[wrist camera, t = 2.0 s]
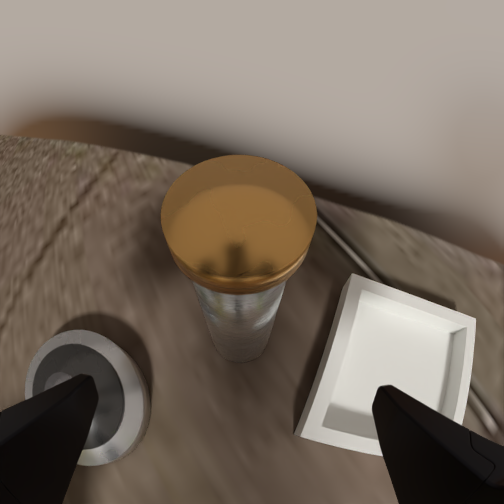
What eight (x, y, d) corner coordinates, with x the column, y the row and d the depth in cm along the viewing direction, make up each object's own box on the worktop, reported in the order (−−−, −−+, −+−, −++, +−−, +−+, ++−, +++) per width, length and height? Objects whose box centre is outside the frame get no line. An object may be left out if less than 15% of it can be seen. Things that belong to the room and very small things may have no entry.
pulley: (89, 485, 14) (61, 493, 11) (22, 383, 18) (-9, 372, 14) (179, 411, 18) (165, 409, 15) (98, 313, 22) (75, 291, 18)
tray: (432, 462, 16) (451, 464, 13) (293, 434, 18) (300, 436, 15) (459, 328, 21) (475, 318, 19) (342, 287, 24) (352, 273, 21)
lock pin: (241, 381, 20) (238, 312, 7) (193, 335, 21) (132, 208, 9) (287, 334, 21) (345, 207, 9) (239, 292, 23) (239, 138, 11)
